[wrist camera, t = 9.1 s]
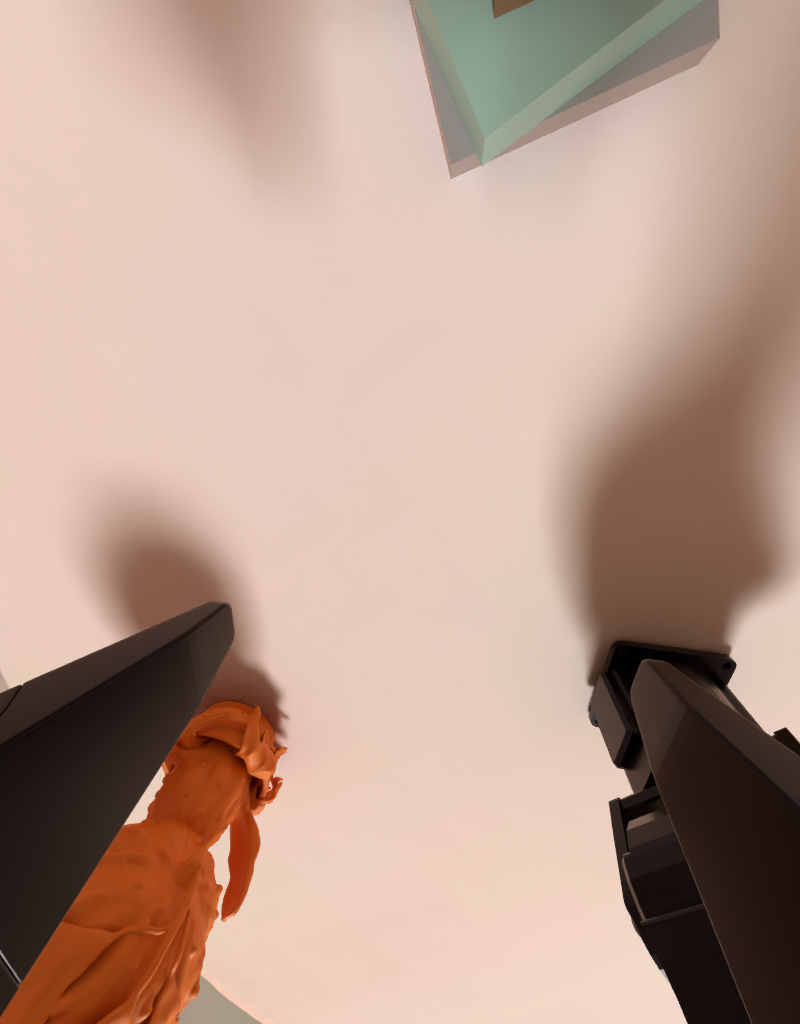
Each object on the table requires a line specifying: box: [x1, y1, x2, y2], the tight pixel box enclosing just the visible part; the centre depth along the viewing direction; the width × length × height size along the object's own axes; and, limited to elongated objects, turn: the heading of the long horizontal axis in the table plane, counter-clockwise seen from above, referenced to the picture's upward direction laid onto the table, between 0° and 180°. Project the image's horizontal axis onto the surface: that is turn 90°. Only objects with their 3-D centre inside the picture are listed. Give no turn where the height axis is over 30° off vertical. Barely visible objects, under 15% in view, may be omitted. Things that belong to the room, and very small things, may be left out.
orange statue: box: [0, 701, 288, 1024], centre depth 22 cm, size 11×11×18 cm
